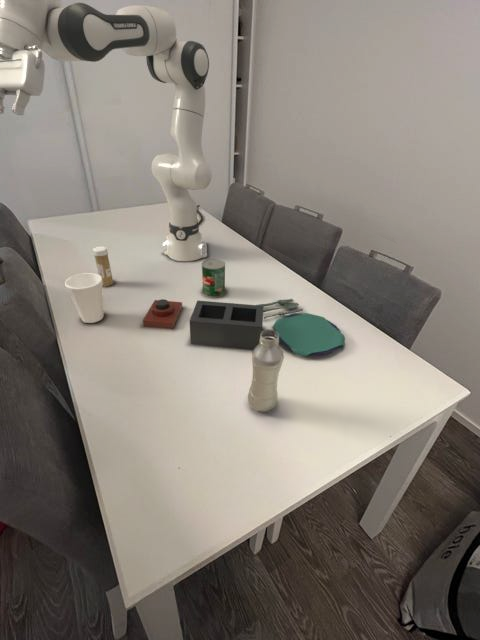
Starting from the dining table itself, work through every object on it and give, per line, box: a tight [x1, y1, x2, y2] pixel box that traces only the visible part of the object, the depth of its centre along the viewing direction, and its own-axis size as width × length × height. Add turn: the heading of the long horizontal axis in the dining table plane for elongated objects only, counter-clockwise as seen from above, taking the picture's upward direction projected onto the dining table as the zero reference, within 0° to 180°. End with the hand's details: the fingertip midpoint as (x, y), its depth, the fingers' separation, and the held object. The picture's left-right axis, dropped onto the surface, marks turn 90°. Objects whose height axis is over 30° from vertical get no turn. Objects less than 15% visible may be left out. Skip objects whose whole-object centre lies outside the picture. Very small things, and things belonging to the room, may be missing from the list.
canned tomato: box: [201, 258, 226, 298], centre depth 116 cm, size 8×8×11 cm
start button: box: [156, 298, 169, 310], centre depth 103 cm, size 4×4×2 cm
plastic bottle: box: [247, 329, 285, 413], centre depth 72 cm, size 6×7×20 cm
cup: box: [64, 272, 104, 324], centre depth 99 cm, size 10×10×13 cm
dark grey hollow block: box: [189, 299, 265, 351], centre depth 96 cm, size 11×20×8 cm, turn 85°
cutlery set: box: [258, 298, 346, 357], centre depth 102 cm, size 20×30×2 cm, turn 23°
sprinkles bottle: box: [92, 245, 114, 287], centre depth 118 cm, size 5×5×13 cm
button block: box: [142, 299, 183, 330], centre depth 104 cm, size 12×9×4 cm
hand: (7, 113), depth 77 cm, fingers open, 8 cm apart
